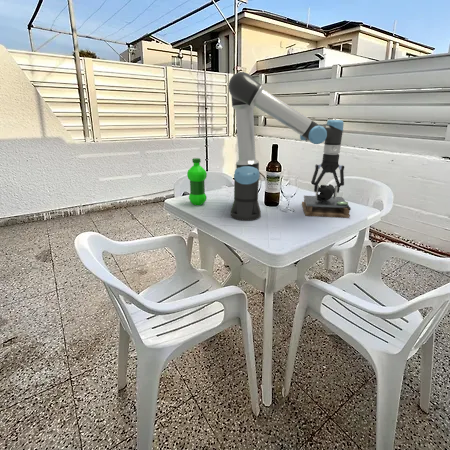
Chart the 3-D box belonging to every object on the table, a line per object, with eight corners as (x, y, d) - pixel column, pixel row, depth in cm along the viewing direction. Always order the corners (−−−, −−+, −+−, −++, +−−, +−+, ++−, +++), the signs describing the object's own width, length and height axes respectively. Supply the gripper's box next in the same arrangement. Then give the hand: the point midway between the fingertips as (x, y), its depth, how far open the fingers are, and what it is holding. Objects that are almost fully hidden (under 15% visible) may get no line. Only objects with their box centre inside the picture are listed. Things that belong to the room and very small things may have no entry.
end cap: (331, 202, 146) (333, 189, 144) (316, 200, 149) (318, 187, 147) (333, 197, 155) (335, 184, 152) (319, 195, 158) (321, 183, 155)
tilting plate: (306, 206, 147) (307, 201, 146) (303, 197, 162) (304, 192, 161) (348, 207, 144) (349, 202, 143) (341, 198, 159) (342, 194, 158)
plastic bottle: (198, 208, 158) (196, 161, 149) (184, 204, 165) (182, 158, 155) (210, 203, 165) (210, 158, 156) (197, 200, 172) (196, 156, 162)
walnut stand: (305, 215, 147) (306, 205, 145) (301, 204, 165) (302, 195, 163) (349, 218, 144) (351, 207, 142) (341, 206, 162) (342, 196, 160)
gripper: (309, 154, 142) (305, 199, 150) (356, 155, 139) (348, 201, 147) (308, 151, 149) (303, 195, 157) (352, 153, 146) (345, 197, 154)
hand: (325, 198), depth 152 cm, fingers closed on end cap, 8 cm apart
